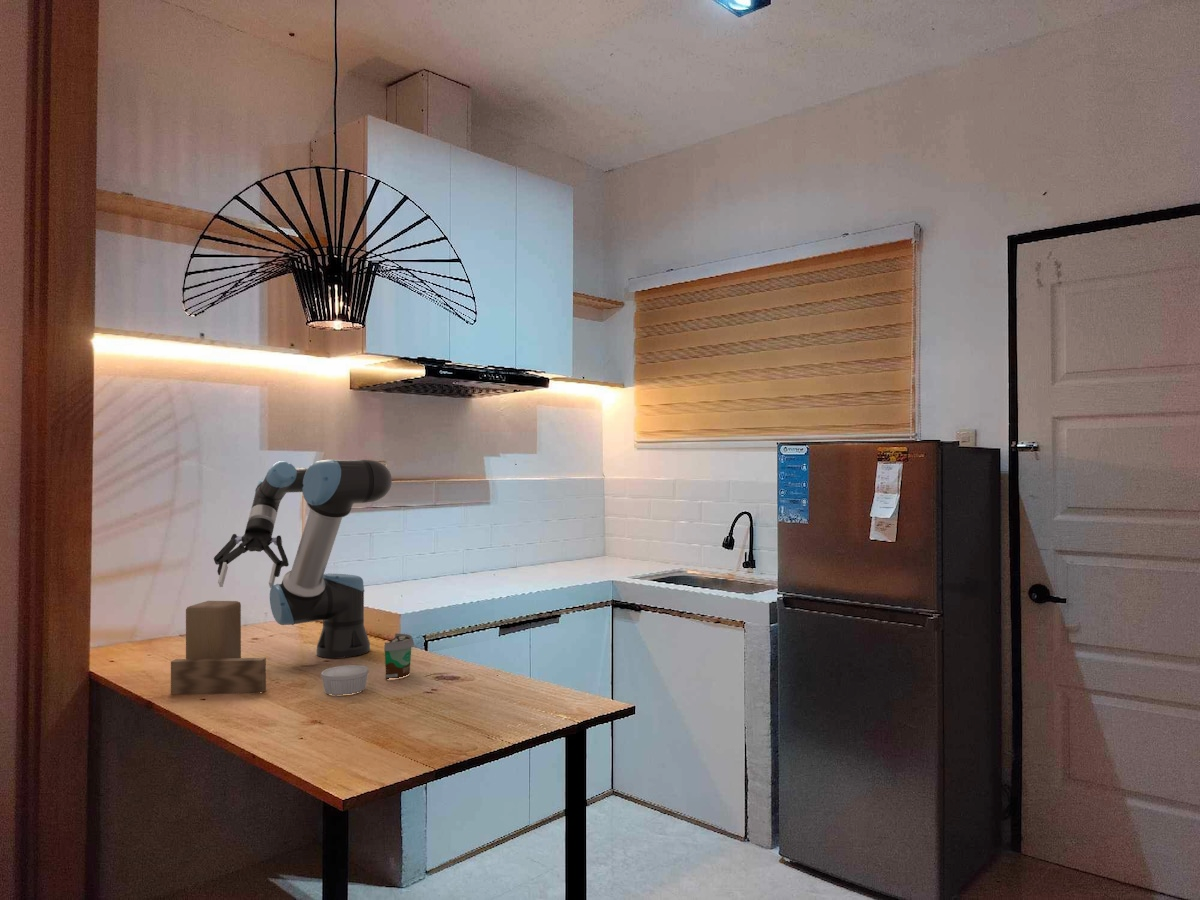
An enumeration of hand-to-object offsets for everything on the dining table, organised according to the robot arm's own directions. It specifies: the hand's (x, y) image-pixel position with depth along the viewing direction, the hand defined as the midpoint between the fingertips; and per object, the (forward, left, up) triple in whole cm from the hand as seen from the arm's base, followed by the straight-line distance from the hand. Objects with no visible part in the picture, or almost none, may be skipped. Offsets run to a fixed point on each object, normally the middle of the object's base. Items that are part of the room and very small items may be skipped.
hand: (245, 585), depth 233 cm
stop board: (-5, +30, -22) cm, 37 cm away
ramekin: (-36, +31, -22) cm, 52 cm away
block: (+1, +19, -22) cm, 29 cm away
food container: (-47, +17, -22) cm, 55 cm away
